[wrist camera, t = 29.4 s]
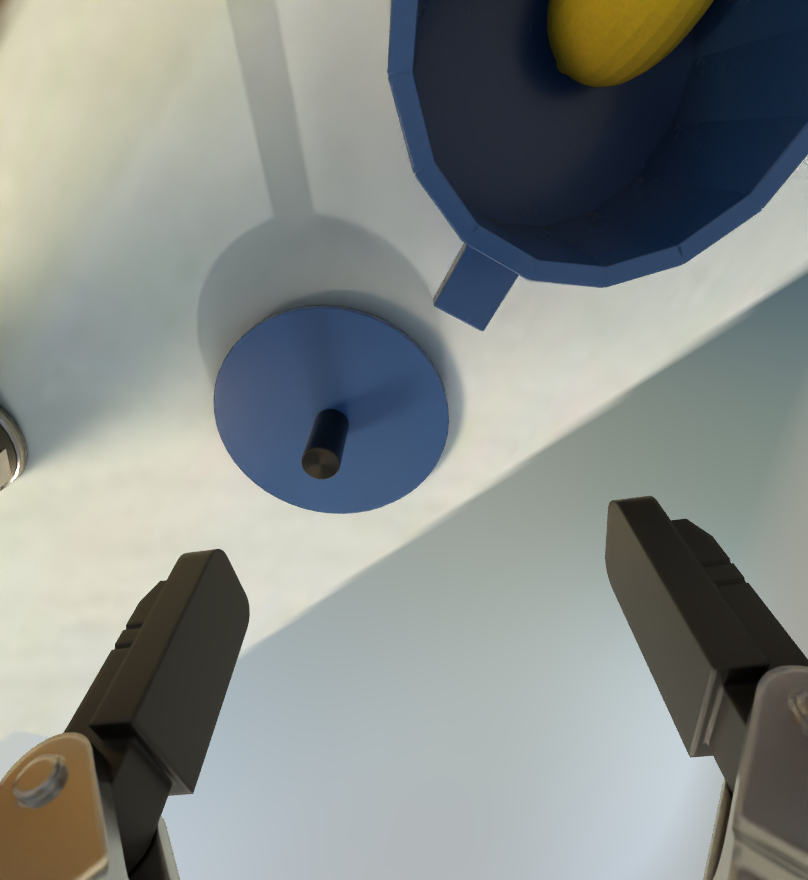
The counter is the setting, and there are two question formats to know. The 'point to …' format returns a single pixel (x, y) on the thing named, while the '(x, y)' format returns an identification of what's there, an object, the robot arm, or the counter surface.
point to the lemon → (617, 36)
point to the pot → (592, 141)
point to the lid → (331, 409)
